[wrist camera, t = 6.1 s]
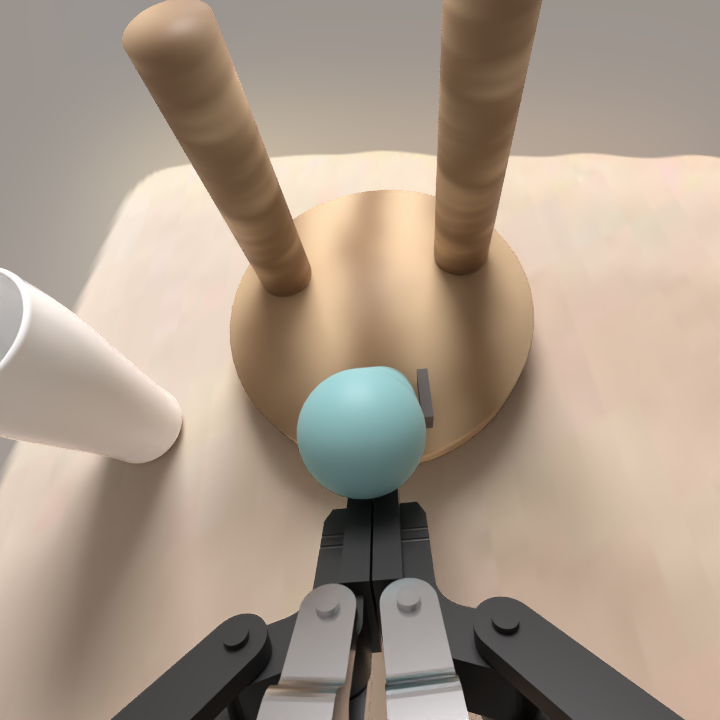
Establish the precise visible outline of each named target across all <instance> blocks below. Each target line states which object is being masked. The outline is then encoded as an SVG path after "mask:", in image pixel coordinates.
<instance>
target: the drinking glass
mask: <svg viewBox="0 0 720 720" xmlns="http://www.w3.org/2000/svg"><path fill="white" fill-rule="evenodd" d="M181 425H182V413H181V409H180V406H179V404H178V402H177V400H176V399H175V398H174V397H173V396H172V395H171V394H170V393H169V392H167V391H166V390H164V389H163V388H161V387H160V386H158V385H157V384H156V383H155V382H153V381H152V380H151V379H150V378H149V377H148V376H146V375H145V374H144V373H143V372H142V371H141V370H139V369H138V368H137V367H136V366H135V365H134V364H132V363H131V362H130V361H129V360H128V359H127V358H126V357H124V356H123V355H122V354H121V353H120V352H119V351H118V350H116V349H115V348H114V347H113V346H112V345H111V344H110V343H109V342H107V341H106V340H105V339H104V338H103V337H102V336H101V335H99V334H98V333H97V332H96V331H95V330H94V329H93V328H91V327H90V326H89V325H88V324H87V323H85V322H84V321H83V320H82V319H80V318H79V317H78V316H77V315H75V314H74V313H73V312H71V311H70V310H69V309H67V308H66V307H64V306H63V305H62V304H60V303H59V302H57V301H56V300H54V299H53V298H51V297H50V296H49V295H47V294H46V293H44V292H42V291H41V290H39V289H37V288H36V287H34V286H33V285H31V284H30V283H28V282H26V281H25V280H23V279H21V278H20V277H18V276H17V275H15V274H14V273H12V272H10V271H8V270H5V269H2V268H0V437H3V438H8V439H13V440H18V441H23V442H29V443H35V444H40V445H46V446H52V447H57V448H63V449H68V450H74V451H79V452H85V453H90V454H96V455H101V456H106V457H111V458H115V459H118V460H121V461H124V462H128V463H145V462H149V461H152V460H154V459H156V458H158V457H160V456H161V455H163V454H164V453H165V452H166V451H168V450H169V449H170V448H171V446H172V445H173V444H174V442H175V441H176V439H177V437H178V435H179V433H180V429H181Z"/></svg>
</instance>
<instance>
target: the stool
mask: <svg viewBox="0 0 720 720" xmlns="http://www.w3.org/2000/svg"><path fill="white" fill-rule="evenodd" d="M541 4H542V0H443V5H442V33H441V35H442V36H441V62H440V90H439V91H440V92H439V119H438V120H439V121H438V148H437V175H436V196H432V195H427V194H423V193H419V192H410V191H402V190H379V191H368V192H361V193H356V194H351V195H347V196H343V197H340V198H337V199H333V200H330V201H328V202H326V203H323V204H321V205H318V206H316V207H314V208H312V209H310V210H308V211H307V212H305V213H303V214H301V215H299V216H298V217H296V218H295V219H294V220H293V219H292V216H291V214H290V211H289V209H288V206H287V203H286V201H285V198H284V196H283V193H282V190H281V188H280V185H279V183H278V180H277V177H276V175H275V172H274V170H273V167H272V164H271V162H270V159H269V157H268V154H267V151H266V149H265V146H264V144H263V141H262V139H261V136H260V133H259V131H258V128H257V125H256V123H255V121H254V118H253V115H252V112H251V110H250V107H249V105H248V102H247V100H246V97H245V94H244V92H243V89H242V86H241V84H240V81H239V79H238V76H237V73H236V71H235V68H234V66H233V63H232V61H231V58H230V55H229V53H228V50H227V47H226V45H225V42H224V40H223V37H222V34H221V32H220V29H219V27H218V24H217V22H216V19H215V16H214V14H213V11H212V10H211V8H210V7H209V6H208V5H207V4H205V3H204V2H202V1H199V0H169V1H165V2H162V3H159V4H156V5H154V6H152V7H150V8H148V9H146V10H144V11H143V12H141V13H140V14H139V15H138V16H136V17H135V18H134V19H133V20H132V21H131V22H130V23H129V25H128V26H127V28H126V29H125V31H124V34H123V38H122V44H123V47H124V49H125V51H126V52H127V54H128V56H129V58H130V59H131V61H132V63H133V64H134V66H135V68H136V70H137V71H138V73H139V75H140V76H141V78H142V80H143V82H144V83H145V85H146V87H147V88H148V90H149V92H150V93H151V95H152V97H153V99H154V100H155V102H156V104H157V105H158V107H159V109H160V111H161V112H162V114H163V116H164V117H165V119H166V121H167V123H168V124H169V126H170V128H171V129H172V131H173V133H174V134H175V136H176V138H177V140H178V141H179V143H180V145H181V146H182V148H183V150H184V152H185V153H186V155H187V156H188V158H189V160H190V162H191V163H192V165H193V167H194V169H195V170H196V172H197V174H198V175H199V177H200V179H201V181H202V182H203V184H204V186H205V187H206V189H207V191H208V192H209V194H210V196H211V198H212V199H213V201H214V203H215V204H216V206H217V208H218V210H219V211H220V213H221V215H222V216H223V218H224V220H225V222H226V223H227V225H228V227H229V228H230V230H231V232H232V233H233V235H234V237H235V239H236V240H237V242H238V244H239V245H240V247H241V249H242V251H243V252H244V254H245V256H246V257H247V259H248V261H249V262H250V265H249V267H248V268H247V270H246V272H245V274H244V275H243V277H242V280H241V282H240V284H239V287H238V289H237V292H236V295H235V299H234V303H233V306H232V312H231V320H230V345H231V351H232V357H233V361H234V364H235V368H236V371H237V374H238V377H239V379H240V381H241V383H242V385H243V387H244V389H245V391H246V393H247V394H248V396H249V397H250V398H251V400H252V401H253V403H254V404H255V406H256V407H257V408H258V409H259V410H260V411H261V413H262V414H263V415H264V416H265V417H266V418H267V419H268V420H269V421H270V422H271V423H272V424H273V425H274V426H276V427H277V428H278V429H279V430H280V431H281V432H282V433H283V434H285V435H286V436H287V437H288V438H290V439H291V440H292V441H294V442H295V443H296V444H297V445H298V443H297V425H298V419H299V415H300V412H301V410H302V407H303V405H304V403H305V401H306V400H307V398H308V397H309V395H310V394H311V392H312V391H313V390H314V389H315V388H316V387H317V386H318V385H319V384H320V383H321V382H323V381H324V380H325V379H327V378H329V377H330V376H332V375H334V374H336V373H338V372H341V371H345V370H349V369H355V368H366V367H377V366H386V367H391V368H394V369H396V370H398V371H399V372H401V373H402V374H403V375H404V376H405V377H406V378H407V379H408V380H409V382H410V384H411V386H412V388H413V390H414V393H415V395H416V397H417V400H418V402H419V404H420V407H421V409H422V412H423V415H424V418H425V424H426V444H425V448H424V452H423V455H422V458H421V460H420V462H419V463H423V462H426V461H430V460H433V459H435V458H437V457H440V456H442V455H444V454H446V453H449V452H451V451H453V450H454V449H456V448H458V447H459V446H461V445H462V444H464V443H466V442H467V441H469V440H470V439H471V438H472V437H474V436H475V435H476V434H477V433H479V432H480V431H481V430H482V429H483V428H484V427H485V426H486V425H487V424H488V423H489V422H490V421H491V420H492V419H493V418H494V417H495V415H496V414H497V413H498V412H499V410H500V409H501V407H502V406H503V404H504V403H505V401H506V400H507V398H508V397H509V395H510V393H511V391H512V389H513V387H514V385H515V384H516V382H517V380H518V378H519V375H520V373H521V371H522V369H523V367H524V365H525V363H526V360H527V356H528V353H529V350H530V347H531V342H532V335H533V328H534V307H533V301H532V295H531V289H530V286H529V283H528V280H527V277H526V274H525V272H524V270H523V268H522V266H521V264H520V262H519V260H518V258H517V256H516V255H515V253H514V252H513V250H512V249H511V248H510V246H509V245H508V243H507V242H506V241H505V240H504V239H503V238H502V237H501V236H500V234H499V233H498V232H497V231H496V230H495V229H494V224H495V219H496V214H497V210H498V205H499V200H500V196H501V191H502V186H503V182H504V177H505V172H506V168H507V163H508V158H509V153H510V148H511V144H512V139H513V135H514V130H515V125H516V121H517V116H518V111H519V107H520V102H521V97H522V92H523V88H524V83H525V78H526V74H527V69H528V65H529V59H530V55H531V50H532V46H533V41H534V36H535V32H536V27H537V22H538V18H539V13H540V8H541Z"/></svg>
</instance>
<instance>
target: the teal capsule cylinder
mask: <svg viewBox="0 0 720 720" xmlns="http://www.w3.org/2000/svg"><path fill="white" fill-rule="evenodd" d="M297 443H298V448H299V453H300V455H301V457H302V460H303V462H304V465H305V466H306V468H307V469H308V471H309V472H310V474H311V475H312V476H313V477H314V478H315V479H316V480H317V481H318V482H319V483H320V484H321V485H322V486H324V487H325V488H326V489H328V490H329V491H331V492H333V493H336V494H338V495H340V496H343V497H348V498H353V499H371V498H376V497H381V496H383V495H386V494H388V493H391V492H392V491H394V490H396V489H397V488H399V487H400V486H402V485H403V484H404V483H405V482H406V481H407V480H408V479H409V478H410V477H411V476H412V474H413V473H414V471H415V470H416V468H417V467H418V465H419V462H420V460H421V458H422V455H423V452H424V448H425V444H426V424H425V418H424V415H423V412H422V409H421V407H420V404H419V402H418V400H417V397H416V395H415V393H414V390H413V388H412V386H411V384H410V382H409V380H408V379H407V378H406V377H405V376H404V375H403V374H402V373H401V372H399V371H398V370H396V369H394V368H391V367H386V366H377V367H366V368H355V369H349V370H345V371H341V372H338V373H336V374H334V375H332V376H330V377H329V378H327V379H325V380H324V381H323V382H321V383H320V384H319V385H318V386H317V387H316V388H315V389H314V390H313V391H312V392H311V394H310V395H309V397H308V398H307V400H306V401H305V403H304V405H303V407H302V410H301V412H300V415H299V419H298V425H297Z"/></svg>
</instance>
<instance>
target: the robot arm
mask: <svg viewBox="0 0 720 720" xmlns="http://www.w3.org/2000/svg"><path fill="white" fill-rule="evenodd" d="M381 635H382V641H383V648H384V660H385V671H386V684H385V692H386V705H387V717H388V720H469V716H468V712H467V711H469V712H472V713H475V714H478V715H481V716H482V718H483V720H684V719H683V718H681V717H680V716H679V715H677V714H676V713H675V712H673V711H672V710H670V709H669V708H668V707H666V706H665V705H663V704H662V703H661V702H659V701H658V700H656V699H655V698H654V697H652V696H651V695H650V694H648V693H647V692H645V691H644V690H643V689H641V688H640V687H638V686H637V685H636V684H634V683H633V682H632V681H630V680H629V679H627V678H626V677H625V676H623V675H622V674H620V673H619V672H618V671H616V670H615V669H614V668H612V667H611V666H609V665H608V664H607V663H605V662H604V661H602V660H601V659H600V658H598V657H597V656H596V655H594V654H593V653H591V652H590V651H589V650H587V649H586V648H584V647H583V646H582V645H580V644H579V643H578V642H576V641H575V640H573V639H572V638H571V637H569V636H568V635H566V634H565V633H564V632H562V631H561V630H560V629H558V628H557V627H555V626H554V625H553V624H551V623H550V622H548V621H547V620H546V619H544V618H543V617H542V616H540V615H539V614H537V613H536V612H535V611H533V610H532V609H530V608H529V607H528V606H526V605H525V604H523V603H522V602H520V601H518V600H515V599H512V598H508V597H493V598H490V599H487V600H485V601H483V602H482V603H481V604H480V605H479V606H478V607H477V608H476V609H475V608H470V607H466V606H462V605H458V604H456V603H454V602H452V601H450V600H448V599H447V598H446V597H445V596H443V594H442V593H441V592H440V591H439V589H438V588H437V585H436V582H435V577H434V570H433V562H432V555H431V548H430V541H429V534H428V526H427V519H426V513H425V511H424V510H423V509H422V508H421V506H420V505H419V504H418V503H417V502H410V503H400V497H399V489H398V488H397V489H396V490H394V491H392V492H391V493H388V494H386V495H383V496H381V497H376V498H371V499H353V498H348V502H347V508H345V509H333V510H332V512H331V513H330V515H329V516H328V517H327V519H326V520H325V522H324V527H323V533H322V539H321V545H320V550H319V556H318V562H317V568H316V574H315V580H314V586H313V590H312V591H311V592H310V593H309V594H308V595H307V596H306V597H305V598H304V600H303V601H302V603H301V606H300V609H299V611H298V612H296V613H295V614H293V615H291V616H290V617H287V618H285V619H282V620H280V621H277V622H274V623H272V624H269V625H266V624H265V622H264V620H263V619H262V618H261V617H259V616H257V615H254V614H240V615H236V616H234V617H231V618H229V619H228V620H226V621H224V622H223V623H222V624H221V625H219V626H218V627H217V628H216V629H215V630H214V631H212V632H211V633H210V634H209V635H208V636H207V637H206V638H204V639H203V640H202V641H201V642H200V643H199V644H197V645H196V646H195V647H194V648H193V649H192V650H191V651H189V652H188V653H187V654H186V655H185V656H184V657H182V658H181V659H180V660H179V661H178V662H177V663H176V664H174V665H173V666H172V667H171V668H170V669H169V670H167V671H166V672H165V673H164V674H163V675H162V676H161V677H159V678H158V679H157V680H156V681H155V682H154V683H152V684H151V685H150V686H149V687H148V688H147V689H146V690H144V691H143V692H142V693H141V694H140V695H139V696H137V697H136V698H135V699H134V700H133V701H132V702H131V703H129V704H128V705H127V706H126V707H125V708H124V709H122V710H121V711H120V712H119V713H118V714H117V715H116V716H114V717H113V718H112V719H111V720H368V719H369V708H370V697H371V677H370V675H371V655H372V653H376V652H382V648H381Z"/></svg>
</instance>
